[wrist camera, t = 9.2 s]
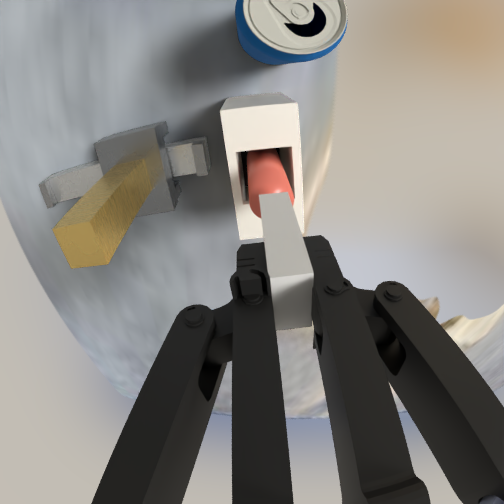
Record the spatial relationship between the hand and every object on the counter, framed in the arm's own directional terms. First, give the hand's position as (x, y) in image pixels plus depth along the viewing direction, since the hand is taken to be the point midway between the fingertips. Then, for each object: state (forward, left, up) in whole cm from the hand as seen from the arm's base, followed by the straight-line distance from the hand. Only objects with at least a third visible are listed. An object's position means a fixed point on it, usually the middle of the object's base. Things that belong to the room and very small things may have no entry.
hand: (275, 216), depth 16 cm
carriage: (0, -12, -15) cm, 19 cm away
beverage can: (-11, +2, -15) cm, 19 cm away
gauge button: (0, 0, -10) cm, 10 cm away
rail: (0, -15, -15) cm, 21 cm away
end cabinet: (0, 0, -15) cm, 15 cm away
